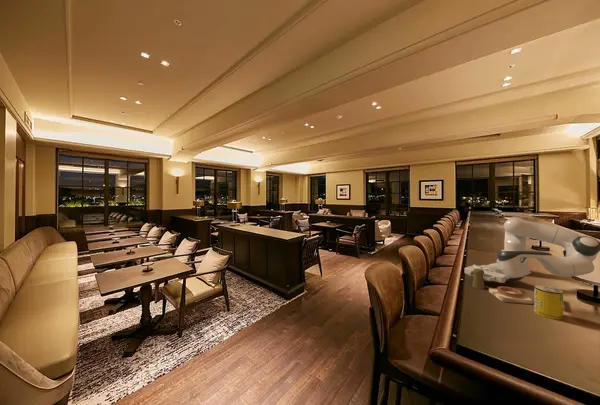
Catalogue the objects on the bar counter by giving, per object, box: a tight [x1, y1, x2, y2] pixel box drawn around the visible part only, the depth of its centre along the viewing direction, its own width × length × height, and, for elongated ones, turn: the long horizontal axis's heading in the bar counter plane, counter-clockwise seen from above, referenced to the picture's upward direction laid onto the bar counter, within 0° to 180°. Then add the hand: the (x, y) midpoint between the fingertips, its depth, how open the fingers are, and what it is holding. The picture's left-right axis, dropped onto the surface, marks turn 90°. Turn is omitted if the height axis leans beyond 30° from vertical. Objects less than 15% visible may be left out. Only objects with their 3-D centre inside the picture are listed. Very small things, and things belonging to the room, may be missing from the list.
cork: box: [471, 268, 486, 290], centre depth 136 cm, size 6×6×11 cm
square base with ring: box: [488, 286, 534, 305], centre depth 122 cm, size 13×13×4 cm
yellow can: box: [533, 284, 564, 321], centre depth 105 cm, size 9×9×12 cm
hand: (478, 276), depth 136 cm, fingers open, 8 cm apart
